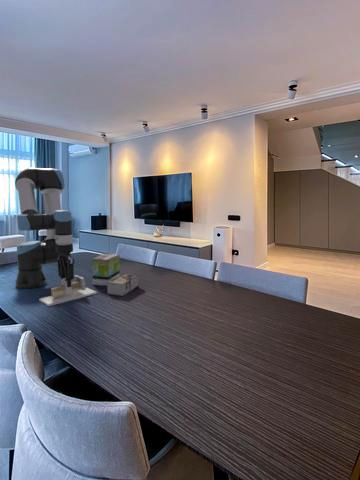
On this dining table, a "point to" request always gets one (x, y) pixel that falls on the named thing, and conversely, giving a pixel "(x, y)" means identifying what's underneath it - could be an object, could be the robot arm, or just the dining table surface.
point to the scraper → (75, 285)
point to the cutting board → (67, 297)
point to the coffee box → (123, 285)
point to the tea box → (105, 268)
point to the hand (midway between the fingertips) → (66, 292)
